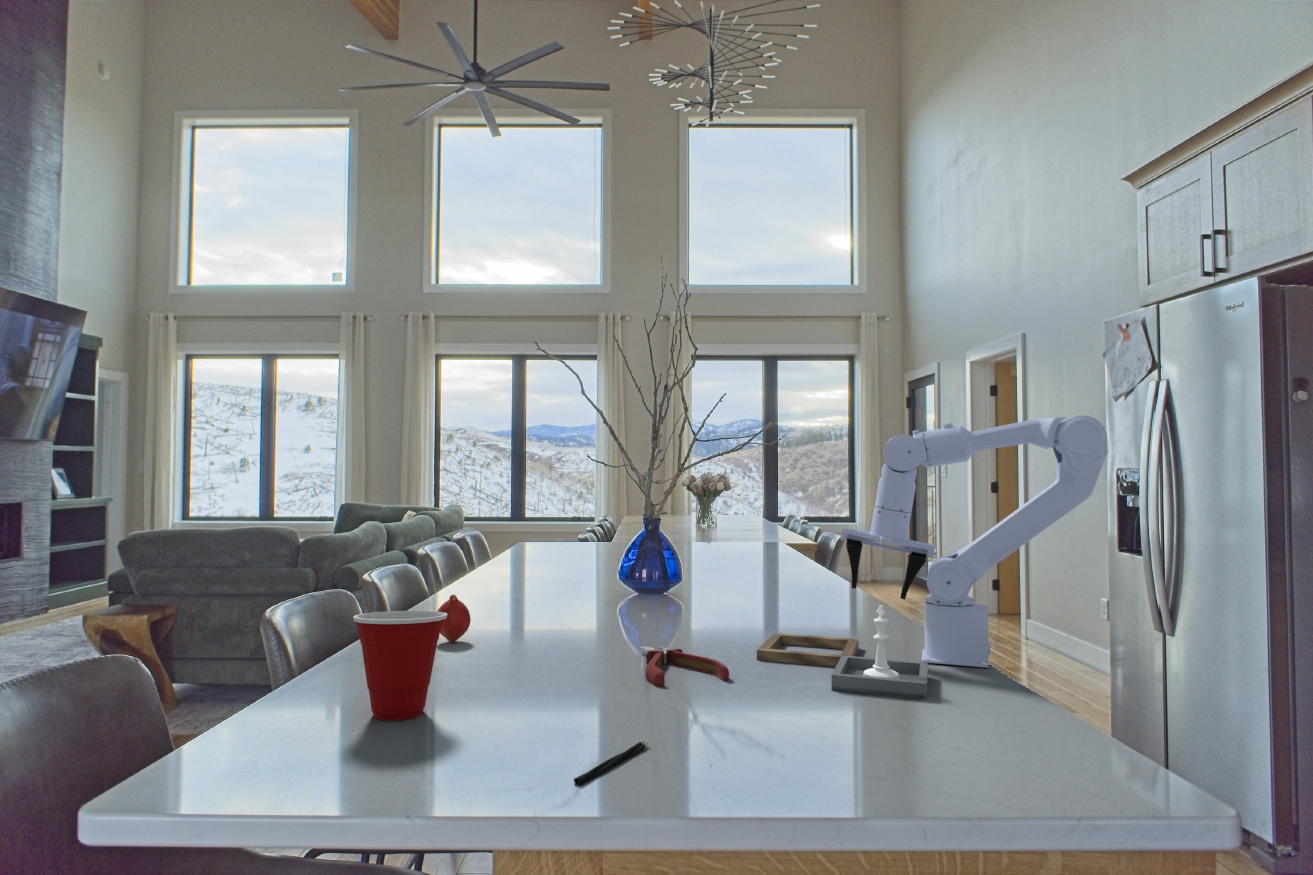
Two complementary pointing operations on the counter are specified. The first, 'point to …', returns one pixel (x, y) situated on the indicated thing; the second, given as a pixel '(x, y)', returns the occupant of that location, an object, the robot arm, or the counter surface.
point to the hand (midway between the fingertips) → (878, 592)
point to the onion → (454, 619)
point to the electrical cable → (610, 764)
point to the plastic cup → (398, 659)
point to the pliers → (679, 664)
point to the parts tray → (908, 685)
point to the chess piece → (881, 650)
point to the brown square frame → (772, 654)
